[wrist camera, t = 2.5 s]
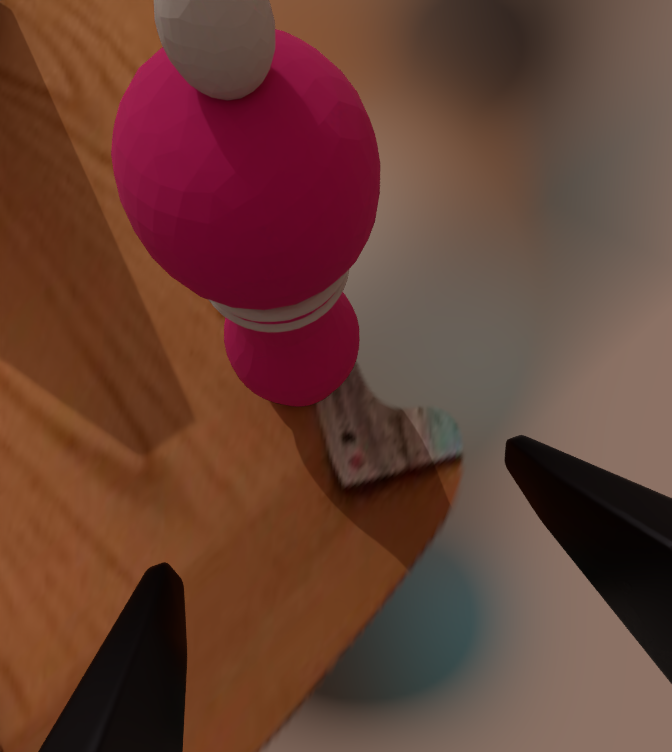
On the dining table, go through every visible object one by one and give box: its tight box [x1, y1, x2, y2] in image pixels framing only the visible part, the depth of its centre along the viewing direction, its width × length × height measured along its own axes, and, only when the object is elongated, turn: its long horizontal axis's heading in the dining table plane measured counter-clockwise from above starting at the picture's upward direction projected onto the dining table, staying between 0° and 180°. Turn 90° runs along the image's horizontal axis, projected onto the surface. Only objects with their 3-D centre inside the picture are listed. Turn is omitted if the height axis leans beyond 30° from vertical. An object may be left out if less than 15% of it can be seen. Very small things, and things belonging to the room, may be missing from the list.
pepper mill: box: [111, 0, 380, 406], centre depth 15 cm, size 7×7×20 cm
